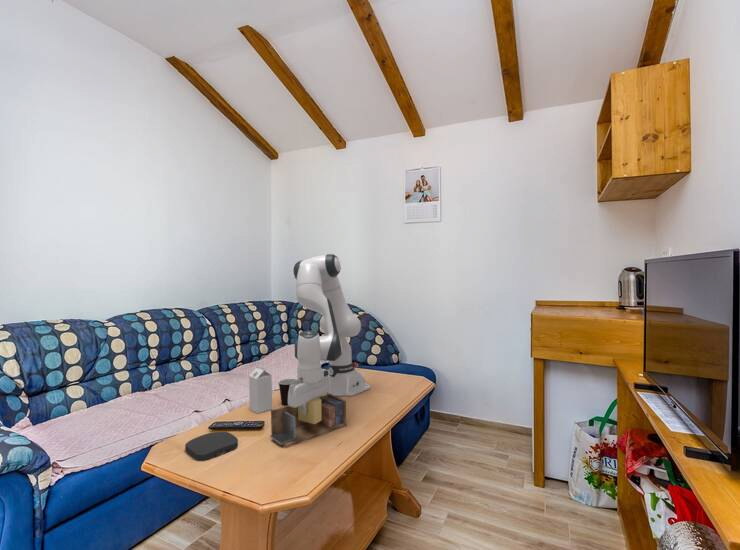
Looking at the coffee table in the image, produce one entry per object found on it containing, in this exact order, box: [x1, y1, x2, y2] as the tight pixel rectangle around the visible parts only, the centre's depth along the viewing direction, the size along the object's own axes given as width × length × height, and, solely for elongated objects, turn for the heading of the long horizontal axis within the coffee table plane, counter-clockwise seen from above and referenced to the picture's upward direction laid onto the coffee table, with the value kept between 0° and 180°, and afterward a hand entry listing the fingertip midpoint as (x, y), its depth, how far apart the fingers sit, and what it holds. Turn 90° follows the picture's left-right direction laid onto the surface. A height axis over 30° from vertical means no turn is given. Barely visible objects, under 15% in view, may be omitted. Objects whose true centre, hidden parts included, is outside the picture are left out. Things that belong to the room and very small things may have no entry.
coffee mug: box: [278, 378, 297, 407], centre depth 172 cm, size 12×9×10 cm
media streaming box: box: [184, 431, 239, 462], centre depth 129 cm, size 15×15×3 cm
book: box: [298, 398, 322, 424], centre depth 140 cm, size 4×8×8 cm, turn 58°
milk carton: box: [248, 365, 273, 414], centre depth 164 cm, size 7×7×19 cm
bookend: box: [269, 411, 296, 446], centre depth 133 cm, size 6×8×8 cm
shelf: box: [270, 393, 347, 449], centre depth 141 cm, size 26×11×10 cm, turn 131°
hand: (309, 411), depth 140 cm, fingers closed on book, 4 cm apart
